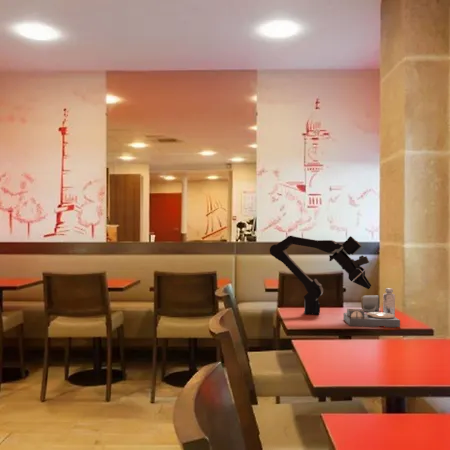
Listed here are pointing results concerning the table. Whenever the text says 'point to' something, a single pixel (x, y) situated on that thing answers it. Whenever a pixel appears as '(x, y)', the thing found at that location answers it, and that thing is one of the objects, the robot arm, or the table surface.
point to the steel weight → (389, 301)
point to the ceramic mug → (370, 303)
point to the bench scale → (370, 319)
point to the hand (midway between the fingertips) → (370, 287)
